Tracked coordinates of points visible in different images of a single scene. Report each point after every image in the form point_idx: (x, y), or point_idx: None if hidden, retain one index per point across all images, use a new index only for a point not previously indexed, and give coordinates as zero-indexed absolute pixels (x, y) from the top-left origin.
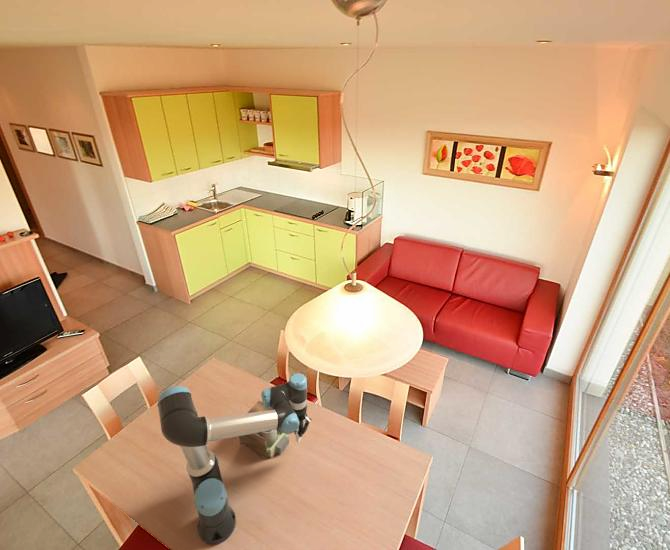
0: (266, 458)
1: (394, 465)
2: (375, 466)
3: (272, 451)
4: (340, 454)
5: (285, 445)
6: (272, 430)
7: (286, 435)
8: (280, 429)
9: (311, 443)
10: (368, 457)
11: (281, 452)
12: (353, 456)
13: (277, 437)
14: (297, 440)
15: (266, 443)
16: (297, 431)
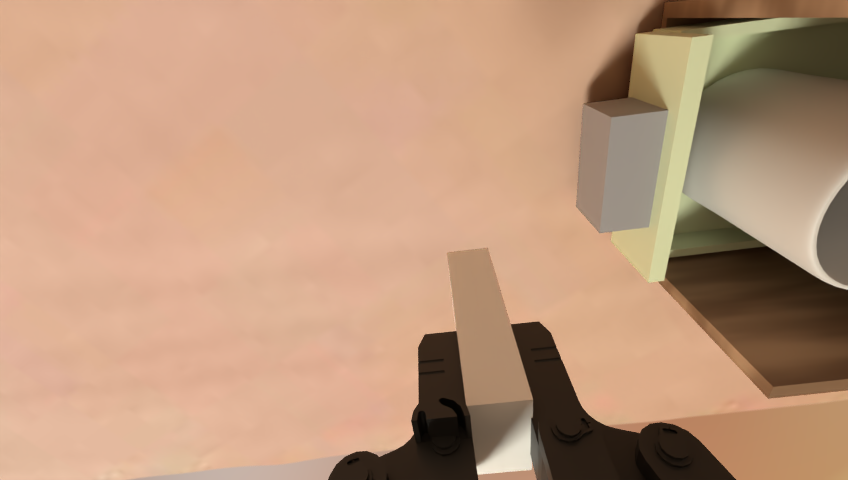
0: (672, 1)
1: (23, 417)
2: (75, 370)
3: (664, 58)
4: (262, 324)
5: (588, 175)
6: (835, 194)
7: (626, 239)
8: (694, 249)
9: (448, 285)
10: (143, 385)
11: (585, 114)
12: (201, 351)
13: (683, 189)
14: (463, 268)
15: (826, 17)
16: (503, 419)
